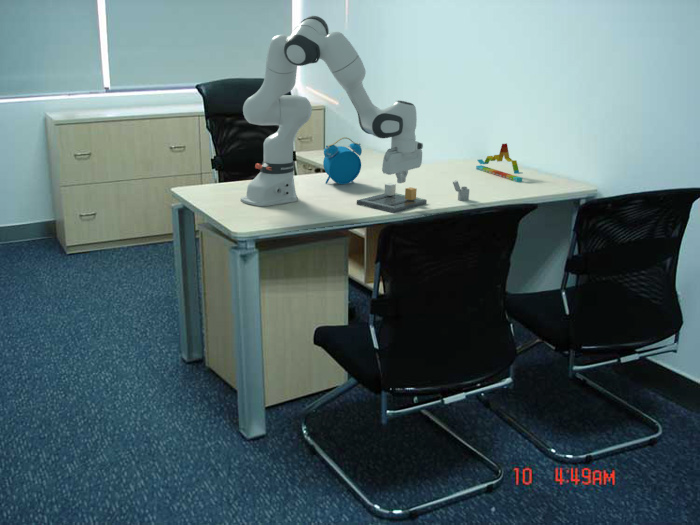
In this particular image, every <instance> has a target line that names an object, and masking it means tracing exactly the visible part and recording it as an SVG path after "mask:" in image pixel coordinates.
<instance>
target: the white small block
mask: <svg viewBox="0 0 700 525" xmlns="http://www.w3.org/2000/svg"><path fill="white" fill-rule="evenodd" d="M396 186H397V185H396V183H391V182H390V183H384V193H383V194H385V195H389V196H391V195H395V193H396Z"/></svg>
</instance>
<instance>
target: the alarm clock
mask: <svg viewBox="0 0 700 525" xmlns="http://www.w3.org/2000/svg"><path fill="white" fill-rule="evenodd" d="M344 139H346V140H349V141H351V143H350V144H348V147H349V148H348V147H346V146H337V145H336V144H337V143H338V142H340V141H341V140H344ZM361 155H362V145H361V143H360V142H359V143H358V142H354V140H352V139H351V138H350V137H345V136H344V137H341V138H339V139H337V140H336V141H335V142H334V143H331V144H327V145H326V146H325V147H324V148H323V156H324V158H323V163H322V164H323V165H322V166H323V169H324V171H325V173H326V174H327V175H328V177H327V179H326V180H325V184H328V182H329V180H330V179H331V180H332V181H333V182H335V183H336V184H338V185H348V184H349V183H353V182H354V180H355V179H356V178H357V177H358V176H359V174H360V173H361V169H362V162H361V158H360V157H361Z"/></svg>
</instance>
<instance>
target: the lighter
mask: <svg viewBox="0 0 700 525" xmlns="http://www.w3.org/2000/svg"><path fill="white" fill-rule="evenodd" d="M452 184H453V187H454V190H455V192H457V193H458V194H457V201H459V202H464V201H469V200H470V188H468V187H467V186H461V187H460V184H459V181H458V180H453V181H452Z"/></svg>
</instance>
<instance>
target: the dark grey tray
mask: <svg viewBox="0 0 700 525" xmlns="http://www.w3.org/2000/svg"><path fill="white" fill-rule="evenodd" d="M425 204H427V199H424V198H419V197H416V199H414V200H408V199H405V194H402V193H401V194H400V193H397V192H395V195H391V196H389V195H385V194H384V193H380V194H377V195H376V194H375V195H373V196H368V197H365V198H361V199H356V205H359V206H363V207H367V208H372V209H376V210H380V211H384V212H387V213H388V212H389V213H395V214H396V213H399V212H403V211H405V210H409V209H413V208H416V207H418V206H419V207H420V206H423V205H425Z"/></svg>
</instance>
